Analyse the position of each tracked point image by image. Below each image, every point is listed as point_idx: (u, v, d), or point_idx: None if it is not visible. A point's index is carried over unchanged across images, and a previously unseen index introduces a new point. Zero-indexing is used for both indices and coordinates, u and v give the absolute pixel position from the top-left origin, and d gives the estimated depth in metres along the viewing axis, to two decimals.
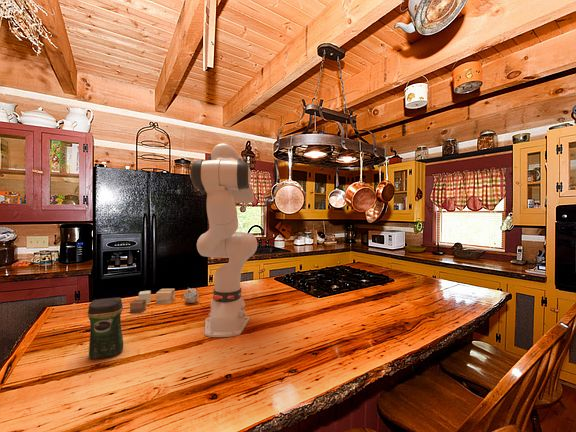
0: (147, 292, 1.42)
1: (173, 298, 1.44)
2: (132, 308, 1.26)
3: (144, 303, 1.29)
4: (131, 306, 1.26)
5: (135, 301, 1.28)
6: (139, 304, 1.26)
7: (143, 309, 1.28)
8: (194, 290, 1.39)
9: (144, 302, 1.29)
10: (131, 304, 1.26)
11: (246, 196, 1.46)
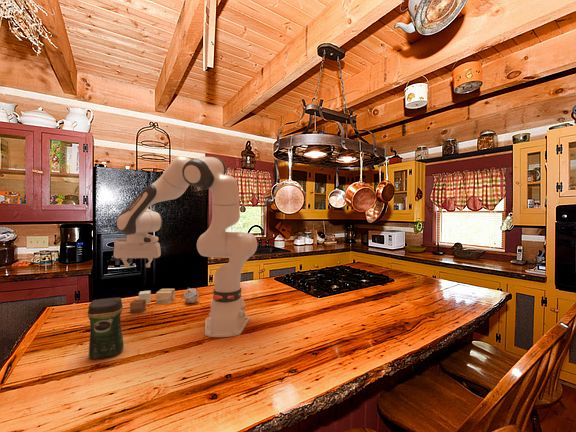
0: (147, 292, 1.42)
1: (173, 298, 1.44)
2: (132, 308, 1.26)
3: (144, 303, 1.29)
4: (131, 306, 1.26)
5: (135, 301, 1.28)
6: (139, 304, 1.26)
7: (143, 309, 1.28)
8: (194, 290, 1.39)
9: (144, 302, 1.29)
10: (131, 304, 1.26)
11: (149, 250, 1.26)
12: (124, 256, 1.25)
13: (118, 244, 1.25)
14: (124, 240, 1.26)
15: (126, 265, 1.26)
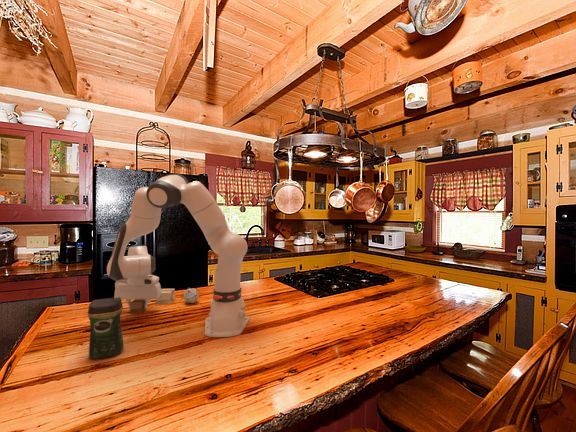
0: None
1: (173, 298, 1.44)
2: (132, 308, 1.26)
3: (144, 303, 1.29)
4: (131, 306, 1.26)
5: (135, 301, 1.28)
6: (139, 304, 1.26)
7: (143, 309, 1.28)
8: (194, 290, 1.39)
9: (144, 302, 1.29)
10: (131, 304, 1.26)
11: (150, 291, 1.27)
12: (125, 297, 1.26)
13: (119, 286, 1.26)
14: (125, 281, 1.27)
15: None
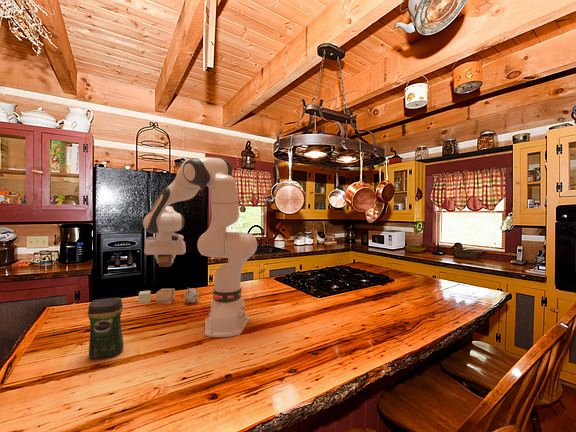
0: (147, 292, 1.42)
1: (173, 298, 1.44)
2: (160, 262, 1.39)
3: (170, 258, 1.42)
4: (159, 260, 1.39)
5: (163, 256, 1.41)
6: (167, 258, 1.39)
7: (170, 263, 1.41)
8: (194, 290, 1.39)
9: (170, 257, 1.42)
10: (159, 258, 1.39)
11: (176, 247, 1.40)
12: (154, 253, 1.39)
13: (148, 242, 1.39)
14: (153, 238, 1.40)
15: (158, 261, 1.40)
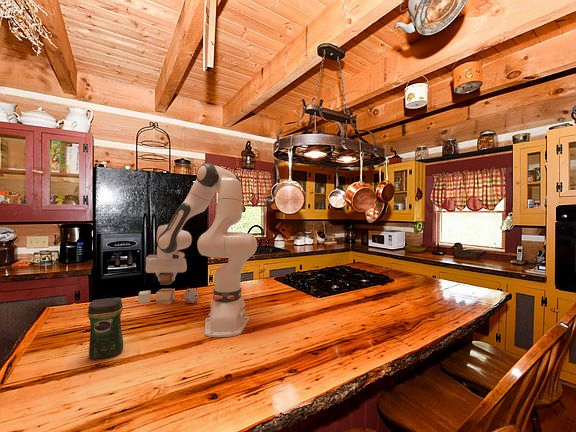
0: (147, 292, 1.42)
1: (173, 298, 1.44)
2: (162, 280, 1.40)
3: (172, 276, 1.43)
4: (160, 278, 1.40)
5: (164, 274, 1.42)
6: (168, 276, 1.40)
7: (171, 281, 1.42)
8: (194, 290, 1.39)
9: (172, 275, 1.43)
10: (161, 276, 1.40)
11: (177, 265, 1.41)
12: (155, 271, 1.40)
13: (149, 260, 1.40)
14: (155, 256, 1.41)
15: (159, 279, 1.41)
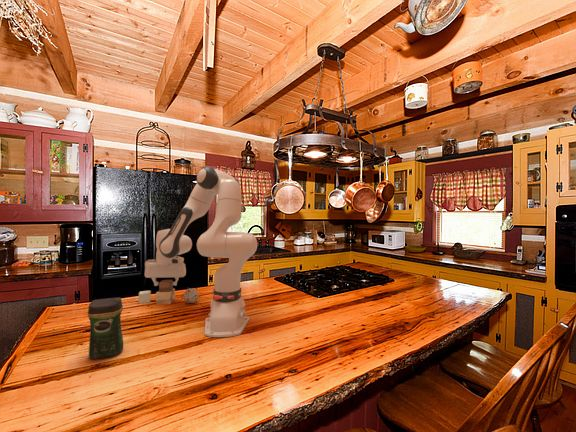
0: (147, 292, 1.42)
1: (173, 298, 1.44)
2: (161, 287, 1.39)
3: (171, 283, 1.43)
4: (160, 285, 1.39)
5: (163, 281, 1.41)
6: (167, 283, 1.39)
7: (170, 288, 1.42)
8: (194, 290, 1.39)
9: (171, 282, 1.43)
10: (160, 283, 1.39)
11: (176, 270, 1.40)
12: (154, 276, 1.39)
13: (149, 265, 1.39)
14: (154, 261, 1.40)
15: (155, 284, 1.40)
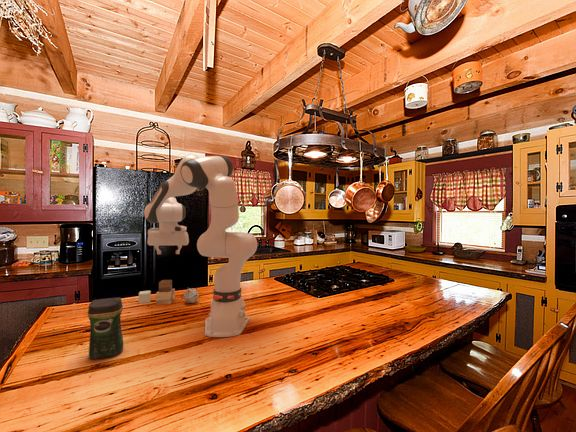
0: (147, 292, 1.42)
1: (173, 298, 1.44)
2: (161, 287, 1.39)
3: (171, 283, 1.43)
4: (160, 285, 1.39)
5: (163, 281, 1.41)
6: (167, 283, 1.39)
7: (170, 288, 1.42)
8: (194, 290, 1.39)
9: (171, 282, 1.43)
10: (160, 283, 1.39)
11: (179, 238, 1.40)
12: (157, 243, 1.39)
13: (151, 233, 1.39)
14: (157, 229, 1.41)
15: (158, 252, 1.41)
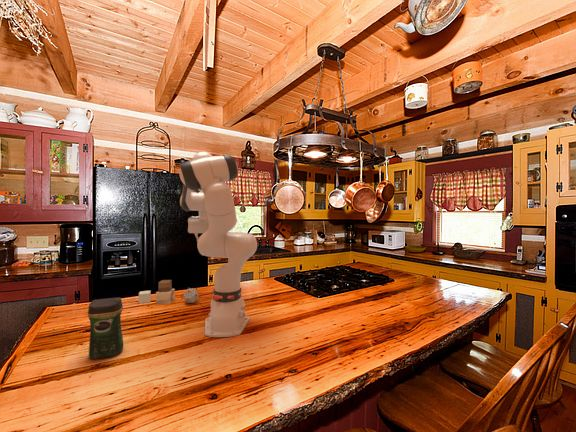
0: (147, 292, 1.42)
1: (173, 298, 1.43)
2: (160, 287, 1.39)
3: (170, 283, 1.43)
4: (159, 285, 1.39)
5: (162, 281, 1.41)
6: (167, 283, 1.39)
7: (170, 288, 1.42)
8: (194, 290, 1.39)
9: (170, 282, 1.43)
10: (159, 283, 1.39)
11: None
12: (197, 231, 1.47)
13: (192, 221, 1.47)
14: (196, 218, 1.49)
15: (198, 239, 1.48)
